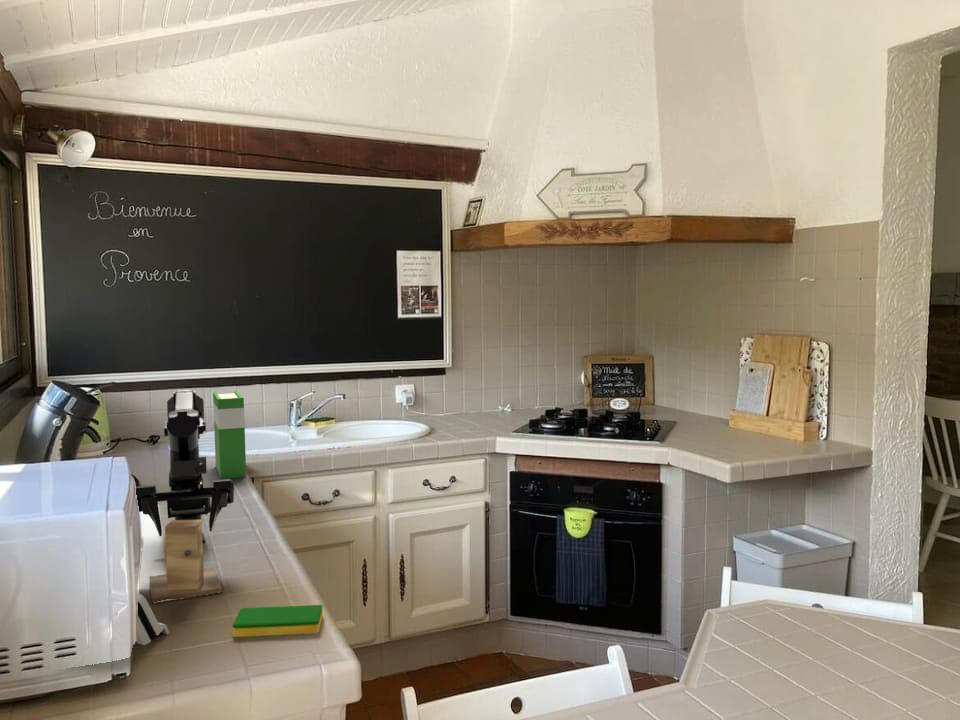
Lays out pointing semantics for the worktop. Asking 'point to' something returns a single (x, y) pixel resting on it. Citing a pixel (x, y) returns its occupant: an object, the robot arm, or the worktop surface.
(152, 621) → the grey angled piece
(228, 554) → the worktop surface
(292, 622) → the dish sponge
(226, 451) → the carton
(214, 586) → the base board
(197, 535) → the wooden block
